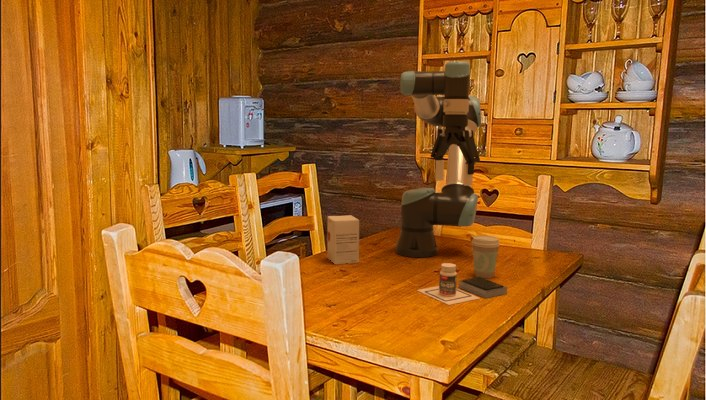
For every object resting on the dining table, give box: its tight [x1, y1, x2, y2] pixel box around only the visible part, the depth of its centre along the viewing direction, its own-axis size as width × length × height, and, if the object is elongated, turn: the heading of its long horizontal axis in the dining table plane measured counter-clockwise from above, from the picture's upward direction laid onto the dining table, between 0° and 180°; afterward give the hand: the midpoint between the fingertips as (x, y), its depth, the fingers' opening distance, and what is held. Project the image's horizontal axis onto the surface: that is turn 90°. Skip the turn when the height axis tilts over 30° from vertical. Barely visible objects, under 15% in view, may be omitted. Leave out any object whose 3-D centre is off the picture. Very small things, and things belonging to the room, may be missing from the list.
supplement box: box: [326, 214, 360, 265], centre depth 190 cm, size 9×9×15 cm
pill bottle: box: [438, 262, 458, 296], centre depth 155 cm, size 5×5×8 cm
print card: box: [416, 285, 481, 306], centre depth 156 cm, size 14×11×1 cm
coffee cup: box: [471, 235, 501, 279], centre depth 173 cm, size 8×8×12 cm
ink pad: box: [458, 277, 508, 299], centre depth 159 cm, size 11×8×2 cm
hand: (453, 182), depth 173 cm, fingers open, 13 cm apart
